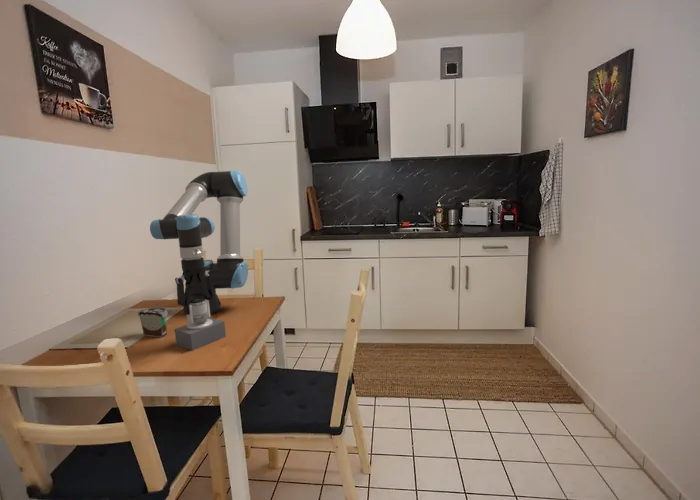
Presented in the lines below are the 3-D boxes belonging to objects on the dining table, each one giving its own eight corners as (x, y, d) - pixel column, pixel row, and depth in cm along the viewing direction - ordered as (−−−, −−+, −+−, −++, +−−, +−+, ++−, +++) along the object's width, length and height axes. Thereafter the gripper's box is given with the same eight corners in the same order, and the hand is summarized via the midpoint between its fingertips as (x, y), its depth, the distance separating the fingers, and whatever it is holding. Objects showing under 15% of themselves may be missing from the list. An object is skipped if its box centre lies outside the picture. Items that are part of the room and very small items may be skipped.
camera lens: (212, 318, 140) (209, 297, 139) (199, 324, 135) (196, 302, 133) (199, 316, 143) (197, 296, 142) (186, 322, 137) (183, 301, 136)
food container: (177, 331, 150) (174, 307, 149) (165, 337, 145) (162, 312, 143) (153, 329, 154) (150, 305, 153) (140, 334, 149) (137, 310, 147)
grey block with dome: (175, 344, 138) (172, 326, 137) (208, 331, 149) (206, 314, 148) (192, 350, 132) (190, 332, 131) (225, 336, 143) (224, 319, 142)
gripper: (172, 263, 125) (180, 329, 129) (221, 254, 141) (227, 313, 145) (160, 262, 129) (168, 326, 133) (209, 252, 145) (215, 310, 149)
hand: (199, 319), depth 139 cm, fingers closed on camera lens, 6 cm apart
